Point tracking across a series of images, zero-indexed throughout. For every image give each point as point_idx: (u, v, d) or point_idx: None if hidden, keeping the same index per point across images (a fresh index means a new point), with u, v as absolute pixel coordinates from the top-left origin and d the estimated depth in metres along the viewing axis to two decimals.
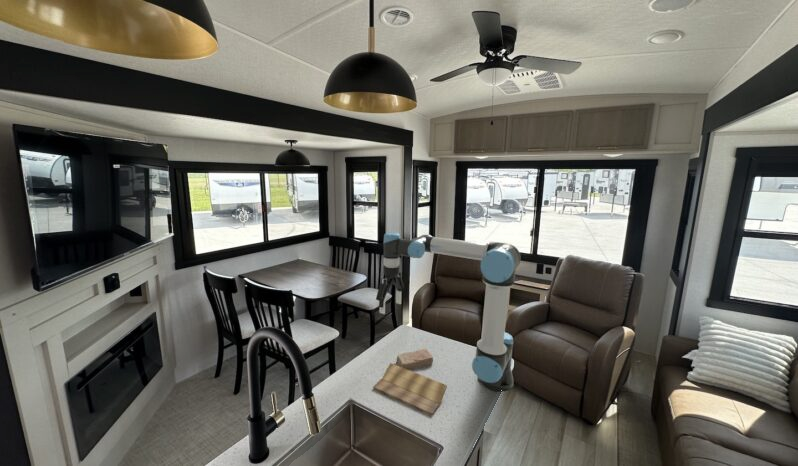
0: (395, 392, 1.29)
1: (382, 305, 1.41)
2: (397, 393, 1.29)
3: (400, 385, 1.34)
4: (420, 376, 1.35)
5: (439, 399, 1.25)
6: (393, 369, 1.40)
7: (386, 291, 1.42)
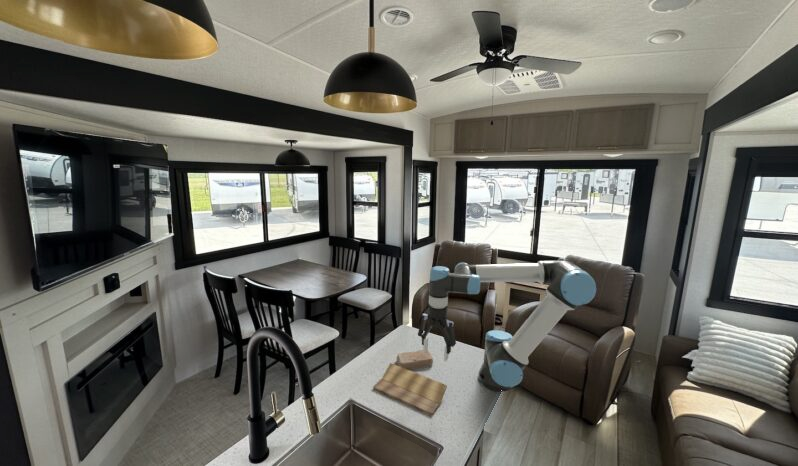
0: (395, 392, 1.29)
1: (423, 343, 1.30)
2: (397, 393, 1.29)
3: (400, 385, 1.34)
4: (420, 376, 1.35)
5: (439, 399, 1.25)
6: (393, 369, 1.40)
7: (426, 330, 1.27)
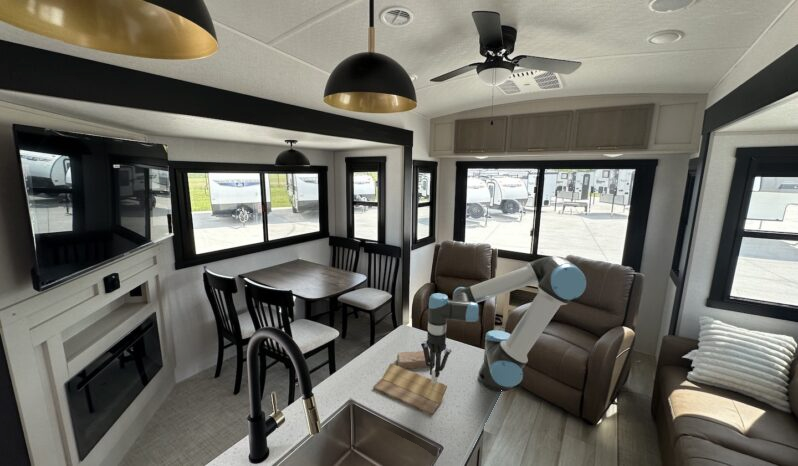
0: (395, 392, 1.29)
1: (431, 373, 1.30)
2: (397, 393, 1.29)
3: (400, 385, 1.34)
4: (420, 376, 1.35)
5: (439, 399, 1.25)
6: (393, 369, 1.41)
7: (430, 358, 1.28)
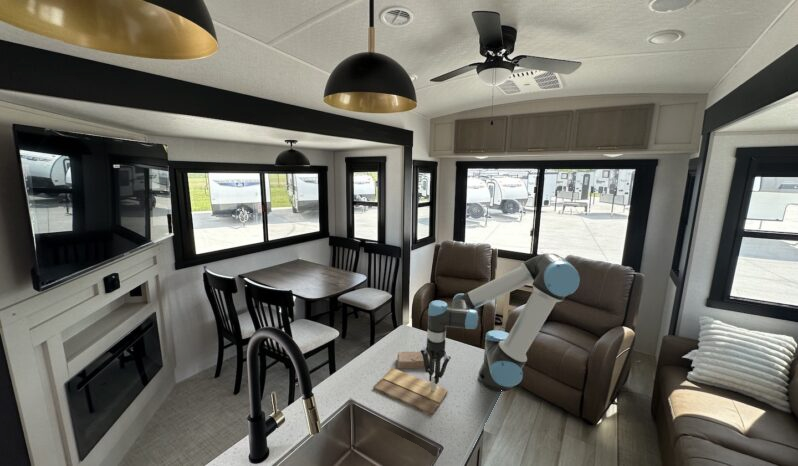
0: (395, 392, 1.29)
1: (430, 379, 1.31)
2: (397, 393, 1.29)
3: (401, 384, 1.34)
4: (421, 380, 1.36)
5: (440, 399, 1.26)
6: (394, 372, 1.42)
7: (430, 365, 1.29)
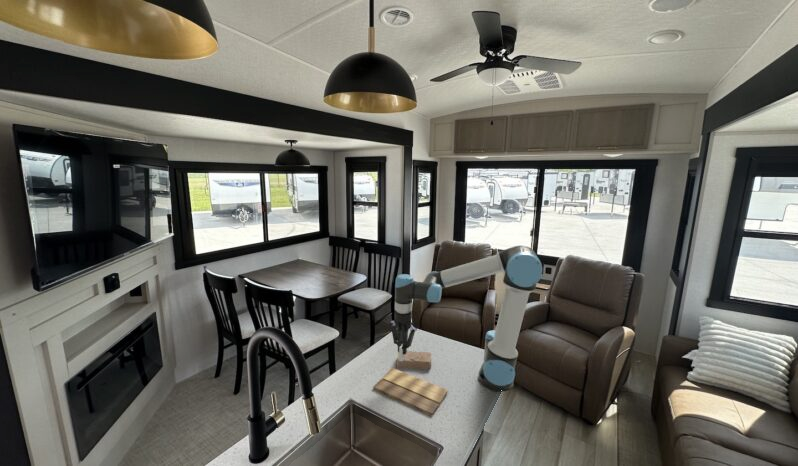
0: (395, 392, 1.29)
1: (398, 350, 1.37)
2: (397, 393, 1.29)
3: (401, 384, 1.34)
4: (421, 380, 1.36)
5: (440, 399, 1.26)
6: (394, 372, 1.42)
7: (398, 336, 1.35)
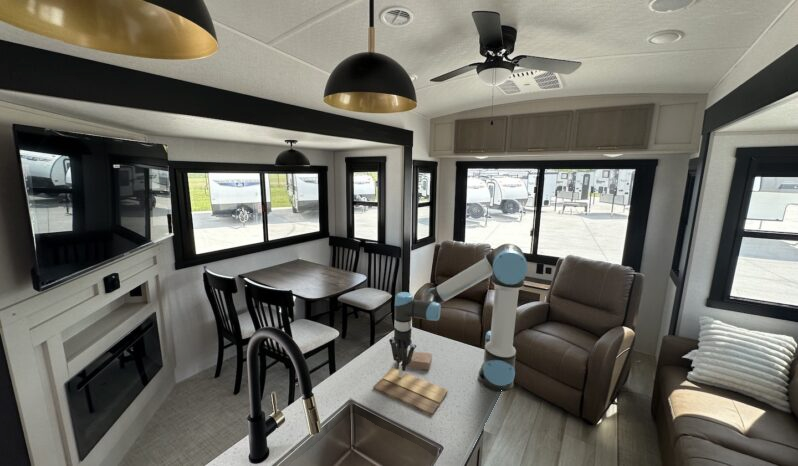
0: (395, 392, 1.29)
1: (398, 367, 1.38)
2: (397, 393, 1.29)
3: (401, 384, 1.34)
4: (421, 380, 1.36)
5: (440, 399, 1.26)
6: (394, 372, 1.42)
7: (397, 353, 1.37)
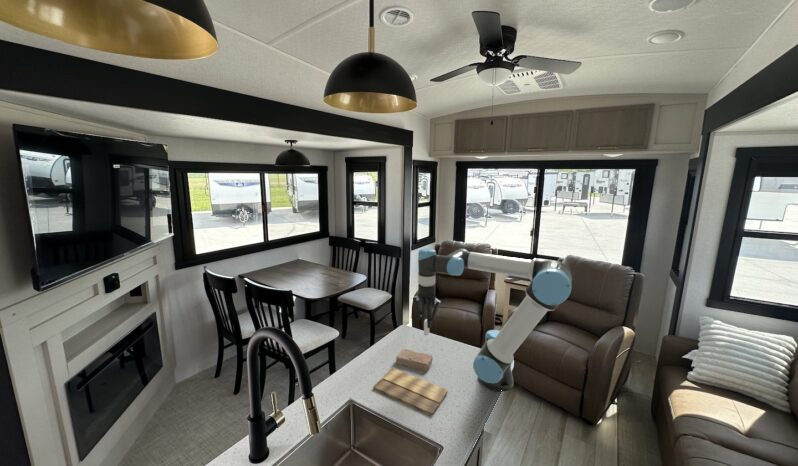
0: (395, 392, 1.29)
1: (423, 324, 1.39)
2: (397, 393, 1.29)
3: (401, 384, 1.34)
4: (421, 380, 1.36)
5: (440, 399, 1.26)
6: (394, 372, 1.42)
7: (422, 310, 1.37)
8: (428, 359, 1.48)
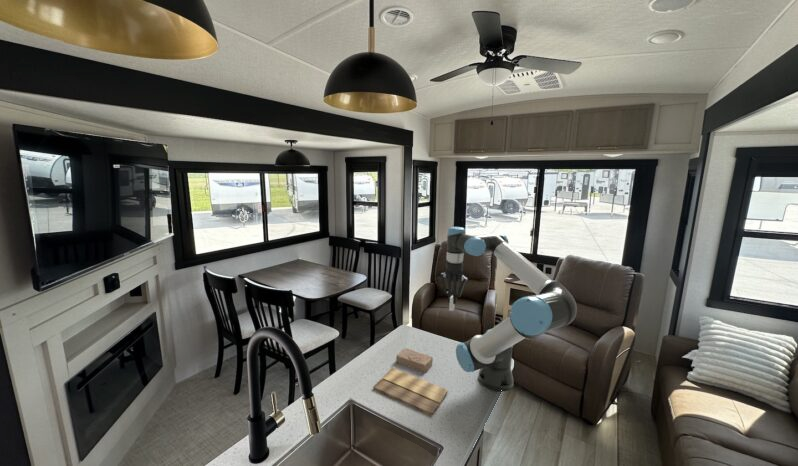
0: (395, 392, 1.29)
1: (449, 300, 1.44)
2: (397, 393, 1.29)
3: (401, 384, 1.34)
4: (421, 380, 1.36)
5: (440, 399, 1.26)
6: (394, 372, 1.42)
7: (448, 287, 1.42)
8: (427, 360, 1.47)
